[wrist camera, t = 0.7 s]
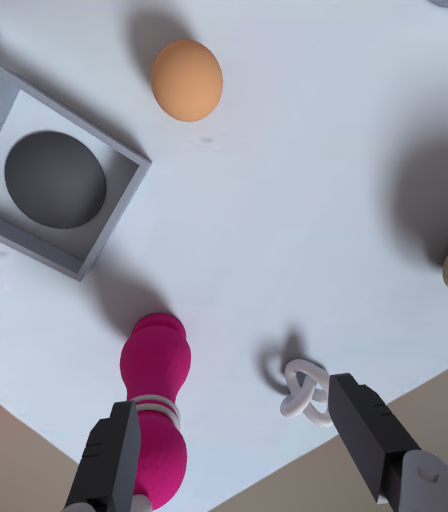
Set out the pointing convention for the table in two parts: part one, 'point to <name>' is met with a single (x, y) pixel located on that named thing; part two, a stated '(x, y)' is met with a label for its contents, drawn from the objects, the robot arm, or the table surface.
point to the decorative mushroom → (445, 271)
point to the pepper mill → (157, 406)
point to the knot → (306, 392)
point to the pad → (55, 180)
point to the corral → (3, 96)
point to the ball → (186, 80)
